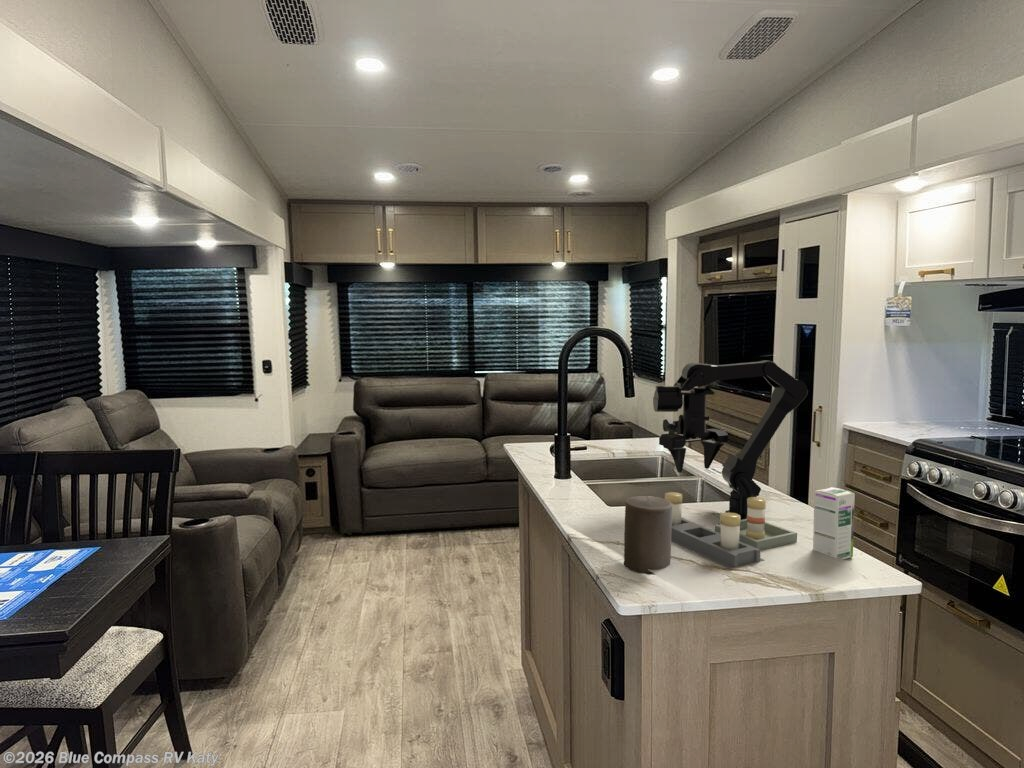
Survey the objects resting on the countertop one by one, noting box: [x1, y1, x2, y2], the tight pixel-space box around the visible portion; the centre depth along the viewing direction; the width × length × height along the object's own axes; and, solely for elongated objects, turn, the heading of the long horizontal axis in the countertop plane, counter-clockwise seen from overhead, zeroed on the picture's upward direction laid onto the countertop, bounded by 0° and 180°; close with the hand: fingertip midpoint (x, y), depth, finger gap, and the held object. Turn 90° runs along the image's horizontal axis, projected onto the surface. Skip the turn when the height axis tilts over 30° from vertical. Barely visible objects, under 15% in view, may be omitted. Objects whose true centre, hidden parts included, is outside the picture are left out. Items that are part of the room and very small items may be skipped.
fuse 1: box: [664, 491, 683, 526], centre depth 149 cm, size 4×4×9 cm
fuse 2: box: [719, 512, 741, 551], centre depth 133 cm, size 4×4×9 cm
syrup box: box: [812, 486, 856, 560], centre depth 135 cm, size 6×6×14 cm
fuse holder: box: [671, 517, 765, 570], centre depth 142 cm, size 28×10×4 cm, turn 26°
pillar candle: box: [623, 495, 673, 575], centre depth 131 cm, size 10×10×15 cm
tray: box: [714, 519, 798, 551], centre depth 145 cm, size 13×13×3 cm
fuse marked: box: [746, 496, 767, 540], centre depth 145 cm, size 4×4×9 cm
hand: (693, 470), depth 164 cm, fingers open, 9 cm apart
